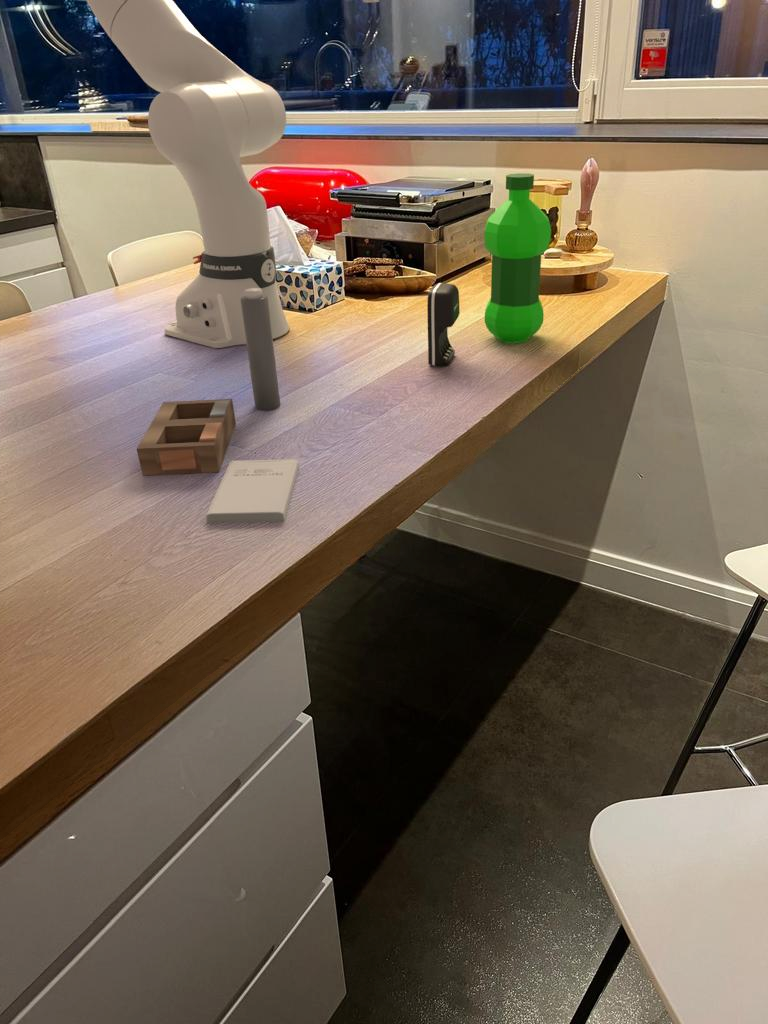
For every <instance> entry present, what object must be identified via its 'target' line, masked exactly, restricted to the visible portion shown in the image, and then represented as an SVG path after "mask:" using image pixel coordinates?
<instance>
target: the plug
mask: <svg viewBox="0 0 768 1024" xmlns="http://www.w3.org/2000/svg"><path fill="white" fill-rule="evenodd" d="M241 306H242V314H243V321H244V329H245V336H246V343H247V344H246V350H247V356H248V357H247V358H248V364H249V365H248V366H249V371H250V379H251V380H250V381H251V387H252V394H253V401H254V402H253V403H254V407H255V409H256V410H257V411H262V412H264V411H265V412H266V411H272V410H276V409H278V408H280V407H281V398H280V391H279V382H278V373H277V365H276V357H275V347H274V339H273V338H272V329H271V321H270V312H269V304H268V296H266V295H262V289H260V288H250V289H246V290H245V296H244V297H242V298H241Z"/></svg>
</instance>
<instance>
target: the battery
mask: <svg viewBox="0 0 768 1024" xmlns="http://www.w3.org/2000/svg"><path fill="white" fill-rule="evenodd" d="M459 316H460V292H459V288H458V287H457V286H456V285H455V284H454V283H453V284H452V283H442V282H438V283H436V284H434V285H433V286H432V287H431V289H430V290H429V291H428V293H427V347H428V350H427V353H428V354H427V355H428V356H427V357H428V358H427V360H428V361H427V362H428V365H429V366H432V367H433V366H434V367H435V366H448V365H450V363H451V362H452V360H453V358H454V356H455V354H456V352H455V351H456V350H455V349H454V348H453V346H452V345H451V343H450V340H449V337H448V333H449V332H448V328H451V327H453V325H455V323H456V321H457V319H459Z"/></svg>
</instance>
